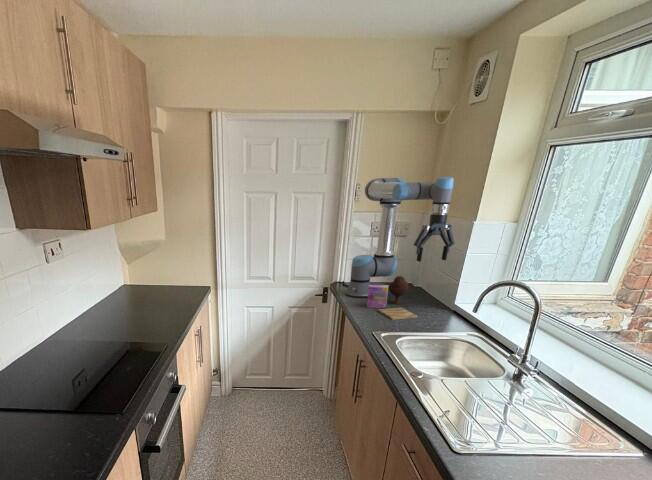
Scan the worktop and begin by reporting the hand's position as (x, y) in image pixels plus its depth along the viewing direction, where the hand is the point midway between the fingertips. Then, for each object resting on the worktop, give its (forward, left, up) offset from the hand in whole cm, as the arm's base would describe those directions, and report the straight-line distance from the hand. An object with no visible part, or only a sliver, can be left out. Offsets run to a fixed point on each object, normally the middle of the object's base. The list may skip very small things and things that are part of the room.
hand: (431, 260), depth 203 cm
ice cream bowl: (-26, 0, -28) cm, 38 cm away
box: (-21, -15, -28) cm, 38 cm away
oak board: (-5, -11, -28) cm, 31 cm away
